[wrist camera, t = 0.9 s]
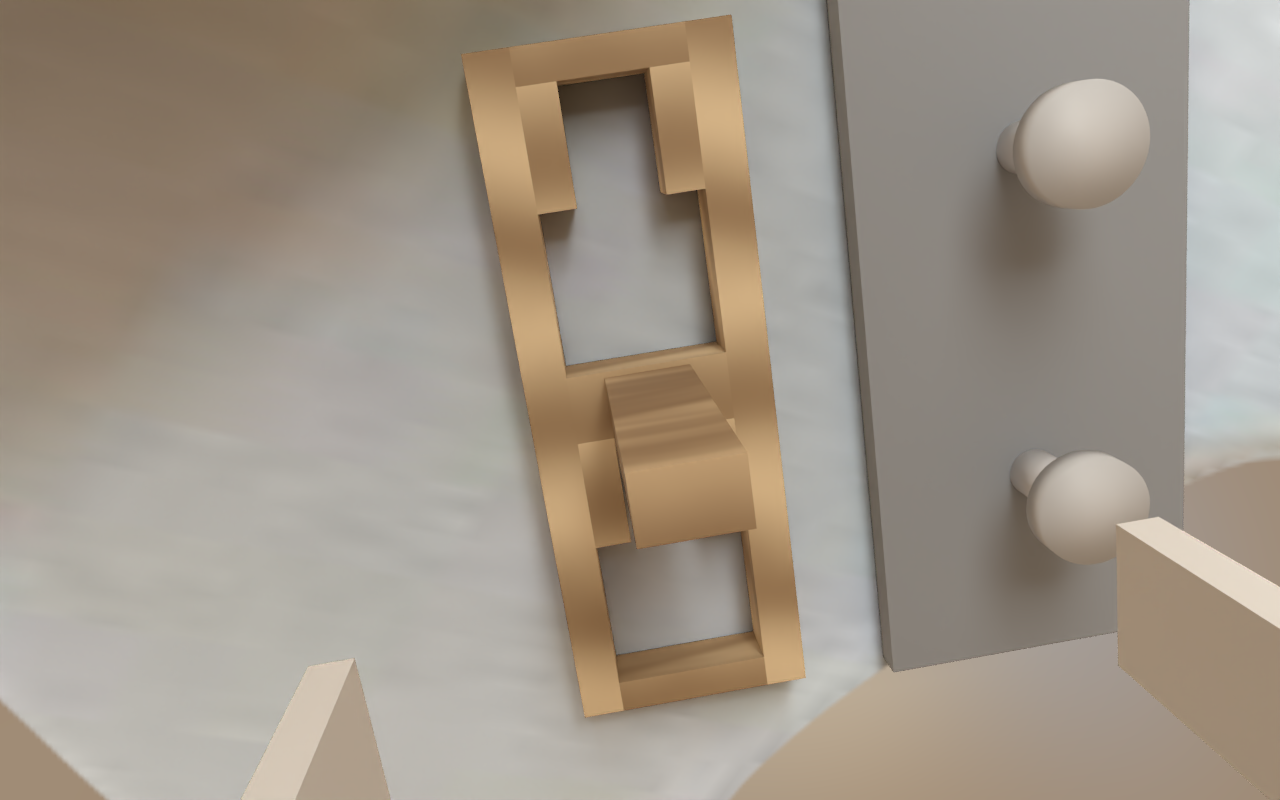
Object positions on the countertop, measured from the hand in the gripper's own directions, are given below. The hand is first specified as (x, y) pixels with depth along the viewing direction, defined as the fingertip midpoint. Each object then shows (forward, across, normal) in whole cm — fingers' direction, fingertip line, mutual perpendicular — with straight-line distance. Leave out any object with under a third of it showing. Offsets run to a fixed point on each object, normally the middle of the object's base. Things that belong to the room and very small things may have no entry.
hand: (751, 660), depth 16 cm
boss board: (+19, +14, +1) cm, 24 cm away
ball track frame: (+19, 0, 0) cm, 19 cm away
